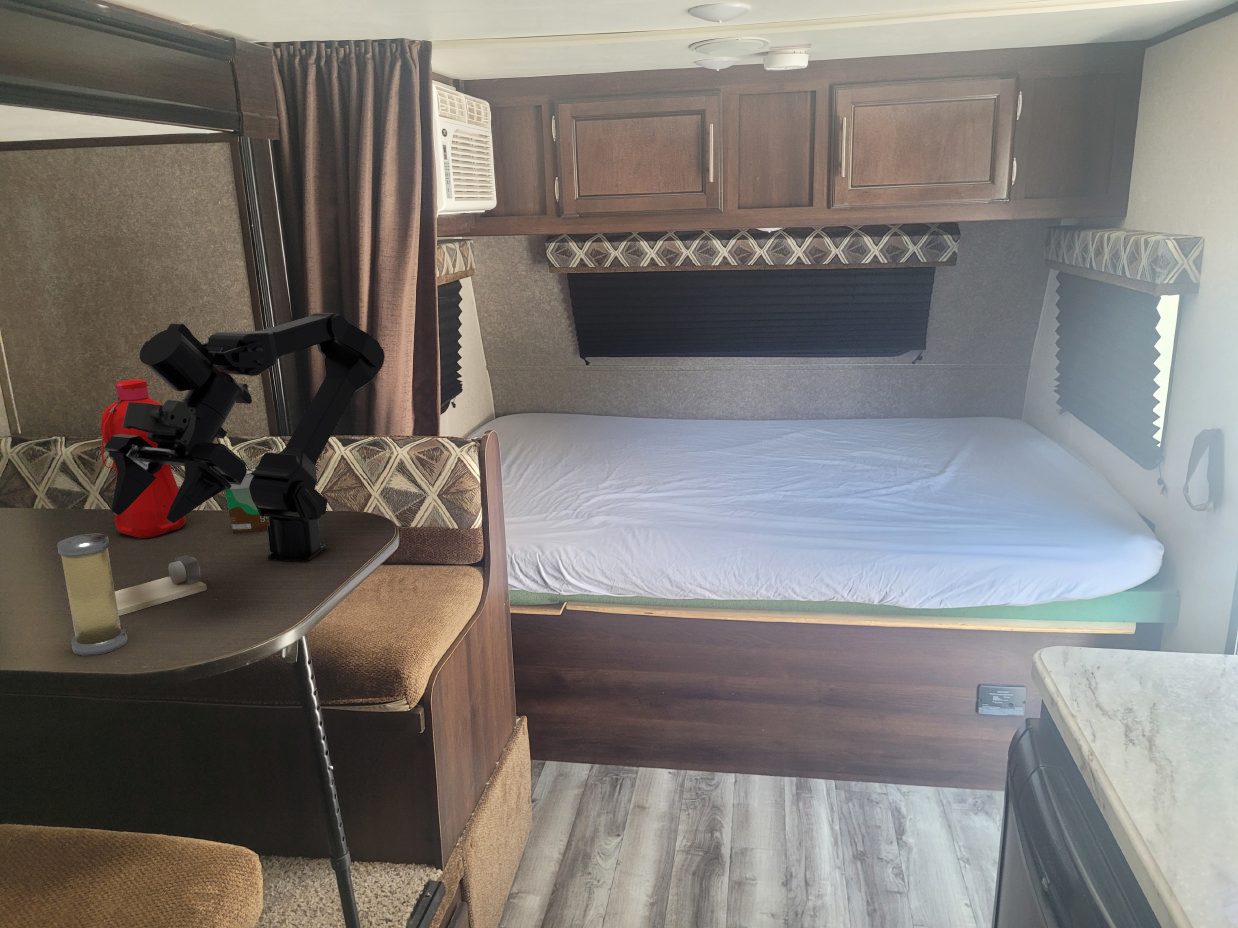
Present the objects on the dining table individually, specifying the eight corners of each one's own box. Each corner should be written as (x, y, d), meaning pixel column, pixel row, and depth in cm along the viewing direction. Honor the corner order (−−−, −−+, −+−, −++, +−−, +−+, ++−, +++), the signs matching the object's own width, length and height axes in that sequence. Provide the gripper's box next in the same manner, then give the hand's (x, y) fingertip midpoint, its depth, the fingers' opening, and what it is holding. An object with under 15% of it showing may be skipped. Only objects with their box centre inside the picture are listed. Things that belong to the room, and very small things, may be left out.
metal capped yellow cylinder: (137, 635, 106) (121, 533, 102) (106, 656, 100) (88, 549, 97) (95, 633, 106) (77, 531, 103) (61, 654, 101) (41, 548, 98)
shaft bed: (186, 577, 124) (183, 551, 123) (209, 589, 120) (205, 563, 119) (72, 609, 114) (67, 581, 113) (92, 623, 109) (87, 595, 108)
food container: (262, 538, 141) (255, 478, 138) (227, 536, 142) (220, 476, 139) (302, 515, 152) (296, 459, 150) (270, 513, 153) (263, 458, 151)
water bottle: (98, 537, 142) (72, 384, 136) (160, 518, 151) (139, 374, 145) (134, 545, 138) (110, 388, 131) (195, 526, 147) (175, 378, 141)
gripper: (105, 372, 111) (36, 477, 104) (217, 378, 104) (151, 492, 97) (166, 421, 120) (106, 521, 113) (272, 430, 113) (216, 537, 106)
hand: (142, 517), depth 107 cm, fingers open, 9 cm apart
